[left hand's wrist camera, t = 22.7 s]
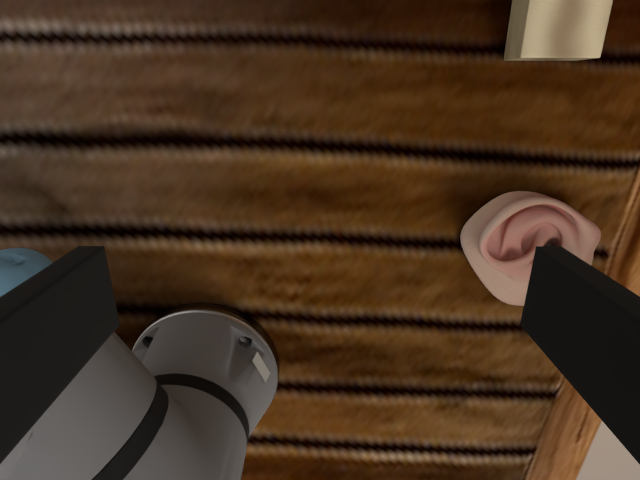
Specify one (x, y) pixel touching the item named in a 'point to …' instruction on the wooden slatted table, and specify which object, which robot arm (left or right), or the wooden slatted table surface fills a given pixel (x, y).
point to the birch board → (556, 30)
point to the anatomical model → (522, 239)
